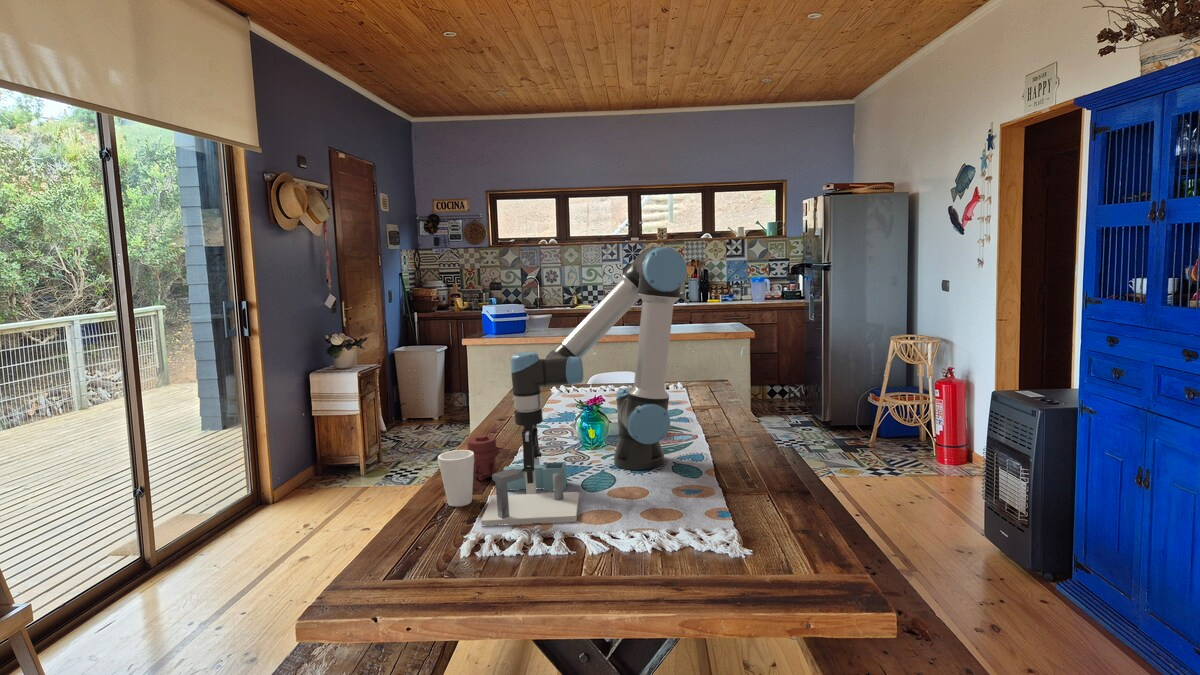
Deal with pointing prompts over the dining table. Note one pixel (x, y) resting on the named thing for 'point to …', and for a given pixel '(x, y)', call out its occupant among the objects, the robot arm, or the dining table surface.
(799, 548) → the dining table surface
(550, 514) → the board
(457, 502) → the foam cup
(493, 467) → the mechanical component
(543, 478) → the link
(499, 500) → the block
